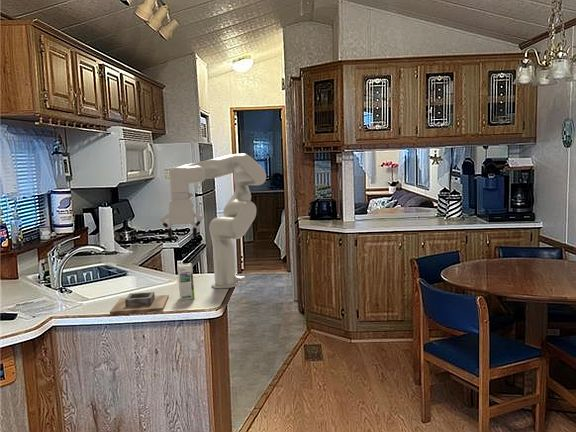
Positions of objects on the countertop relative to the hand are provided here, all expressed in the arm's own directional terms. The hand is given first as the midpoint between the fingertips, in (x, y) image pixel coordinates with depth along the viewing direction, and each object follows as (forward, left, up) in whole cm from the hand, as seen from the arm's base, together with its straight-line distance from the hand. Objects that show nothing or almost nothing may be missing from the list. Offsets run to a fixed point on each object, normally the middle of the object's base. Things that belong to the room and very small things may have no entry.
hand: (182, 237), depth 218 cm
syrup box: (0, 0, -26) cm, 26 cm away
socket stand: (+18, +7, -26) cm, 32 cm away
